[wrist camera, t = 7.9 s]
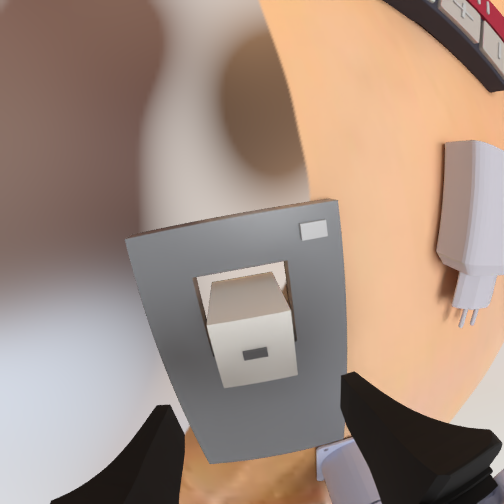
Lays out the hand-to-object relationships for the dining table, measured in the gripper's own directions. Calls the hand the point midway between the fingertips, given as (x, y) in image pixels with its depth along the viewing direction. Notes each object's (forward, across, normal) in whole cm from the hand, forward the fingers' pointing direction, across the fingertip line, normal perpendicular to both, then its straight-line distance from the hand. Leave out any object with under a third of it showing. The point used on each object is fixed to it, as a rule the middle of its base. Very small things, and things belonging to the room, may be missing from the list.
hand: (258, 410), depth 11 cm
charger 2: (+10, -20, -2) cm, 23 cm away
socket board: (+9, 0, +4) cm, 10 cm away
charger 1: (+9, 0, -1) cm, 9 cm away
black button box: (+10, -24, -24) cm, 35 cm away
